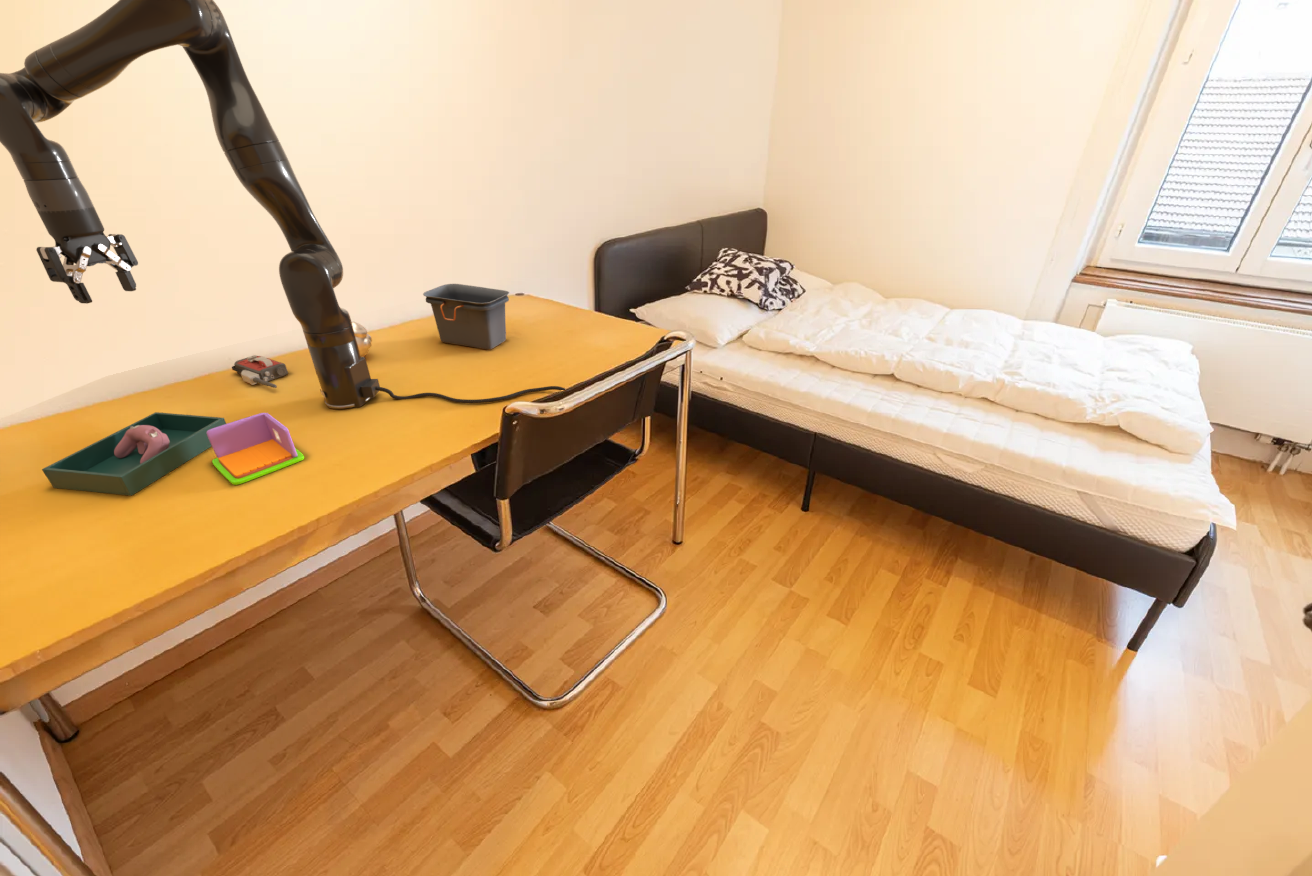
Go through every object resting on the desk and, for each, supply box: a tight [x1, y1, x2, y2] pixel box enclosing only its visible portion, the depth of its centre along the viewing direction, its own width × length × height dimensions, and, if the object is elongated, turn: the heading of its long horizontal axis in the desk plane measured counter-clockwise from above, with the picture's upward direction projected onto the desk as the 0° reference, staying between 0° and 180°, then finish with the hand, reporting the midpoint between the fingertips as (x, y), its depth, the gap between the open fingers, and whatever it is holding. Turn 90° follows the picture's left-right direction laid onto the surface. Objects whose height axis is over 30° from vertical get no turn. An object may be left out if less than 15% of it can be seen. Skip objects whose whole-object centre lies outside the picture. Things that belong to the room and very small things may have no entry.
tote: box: [41, 411, 227, 497], centre depth 103 cm, size 15×21×4 cm
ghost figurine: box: [351, 321, 373, 357], centre depth 145 cm, size 9×10×10 cm
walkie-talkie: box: [231, 354, 289, 389], centre depth 135 cm, size 9×4×20 cm
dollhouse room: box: [207, 412, 305, 486], centre depth 102 cm, size 12×12×7 cm
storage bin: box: [422, 283, 510, 351], centre depth 155 cm, size 21×16×14 cm
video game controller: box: [114, 425, 170, 464], centre depth 103 cm, size 10×5×7 cm, turn 65°
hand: (109, 296), depth 108 cm, fingers open, 8 cm apart
